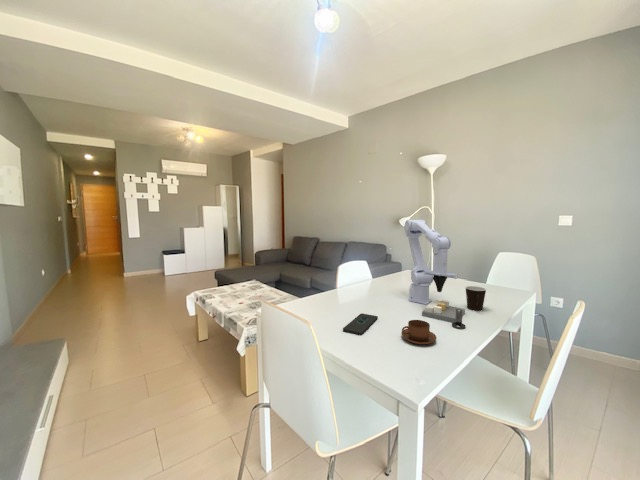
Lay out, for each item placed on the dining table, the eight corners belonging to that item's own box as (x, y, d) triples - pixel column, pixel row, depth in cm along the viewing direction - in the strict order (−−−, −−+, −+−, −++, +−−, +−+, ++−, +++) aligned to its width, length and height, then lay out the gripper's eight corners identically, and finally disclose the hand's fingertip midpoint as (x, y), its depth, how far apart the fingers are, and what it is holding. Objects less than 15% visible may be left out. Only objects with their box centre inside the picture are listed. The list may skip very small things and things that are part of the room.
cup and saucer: (417, 350, 93) (417, 332, 93) (394, 336, 104) (394, 320, 104) (443, 343, 98) (444, 326, 98) (419, 330, 109) (419, 315, 109)
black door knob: (450, 327, 112) (450, 310, 111) (453, 323, 116) (454, 307, 115) (463, 330, 109) (464, 312, 108) (466, 326, 113) (467, 309, 112)
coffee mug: (468, 304, 140) (468, 285, 139) (487, 308, 134) (488, 288, 133) (459, 310, 132) (460, 289, 131) (479, 314, 126) (480, 293, 125)
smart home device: (378, 315, 122) (361, 332, 104) (378, 319, 122) (361, 337, 105) (360, 312, 126) (341, 328, 109) (360, 316, 126) (341, 332, 109)
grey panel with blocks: (421, 315, 125) (422, 305, 125) (433, 306, 137) (434, 297, 137) (455, 323, 116) (455, 312, 115) (464, 313, 128) (465, 303, 128)
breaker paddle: (437, 309, 127) (437, 303, 127) (438, 308, 129) (438, 302, 128) (444, 310, 125) (444, 305, 125) (445, 309, 127) (445, 304, 127)
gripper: (421, 262, 130) (421, 290, 132) (454, 265, 121) (453, 296, 122) (427, 260, 136) (426, 287, 137) (459, 263, 126) (458, 292, 128)
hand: (439, 291), depth 130 cm, fingers closed
